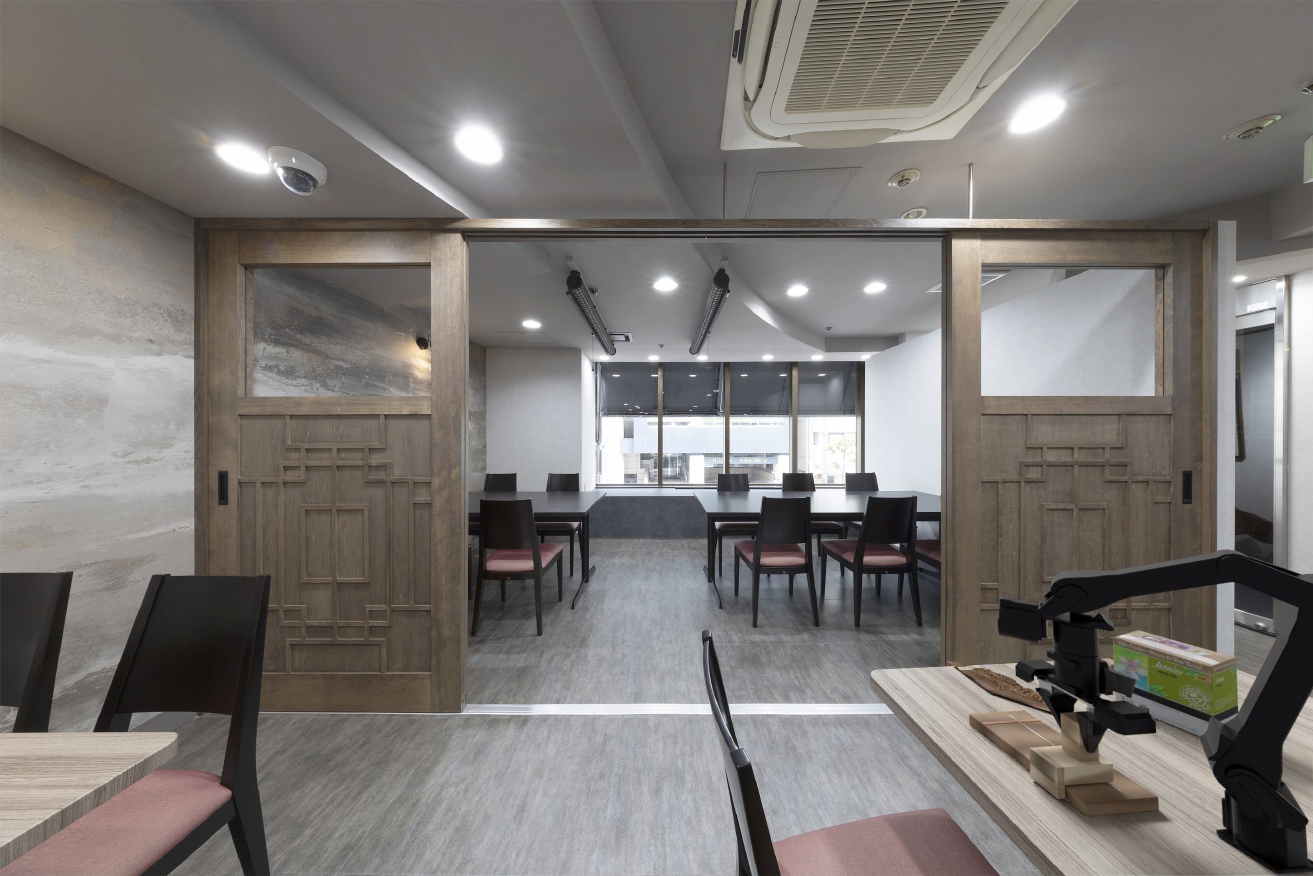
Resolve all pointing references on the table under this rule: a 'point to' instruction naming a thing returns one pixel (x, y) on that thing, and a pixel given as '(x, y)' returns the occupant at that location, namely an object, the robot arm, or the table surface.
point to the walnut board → (1026, 732)
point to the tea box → (1177, 680)
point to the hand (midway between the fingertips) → (1079, 745)
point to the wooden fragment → (1003, 686)
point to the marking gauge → (1068, 761)
